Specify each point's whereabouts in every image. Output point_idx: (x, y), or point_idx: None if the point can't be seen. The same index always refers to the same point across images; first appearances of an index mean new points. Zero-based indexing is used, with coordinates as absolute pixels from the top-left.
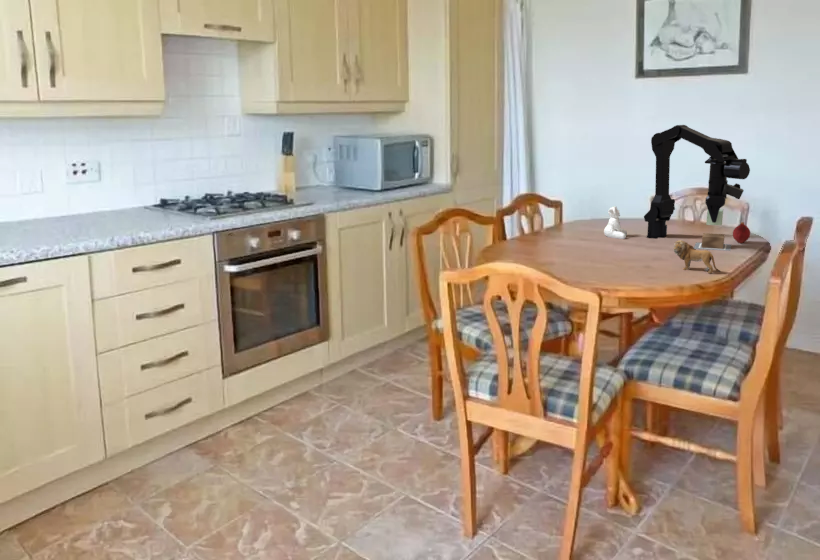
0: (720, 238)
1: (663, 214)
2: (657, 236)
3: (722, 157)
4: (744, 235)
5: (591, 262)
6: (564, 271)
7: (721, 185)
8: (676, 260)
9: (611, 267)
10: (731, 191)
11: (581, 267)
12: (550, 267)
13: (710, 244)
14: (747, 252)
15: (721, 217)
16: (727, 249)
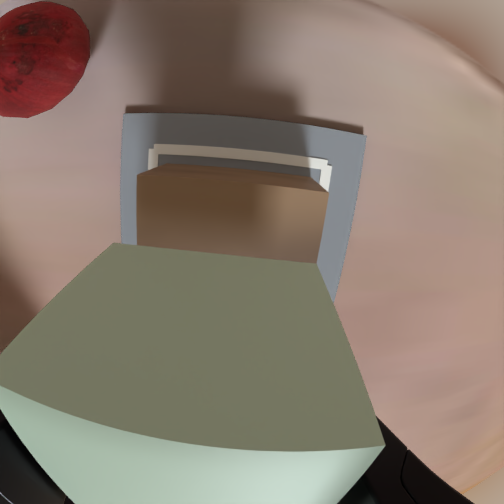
0: (322, 218)
1: (68, 500)
2: None
3: None
4: (81, 27)
5: (455, 476)
6: (494, 469)
7: None
8: (499, 367)
9: (501, 443)
10: None
11: (482, 468)
12: (466, 488)
13: None
14: (357, 35)
15: (339, 348)
16: (327, 149)
